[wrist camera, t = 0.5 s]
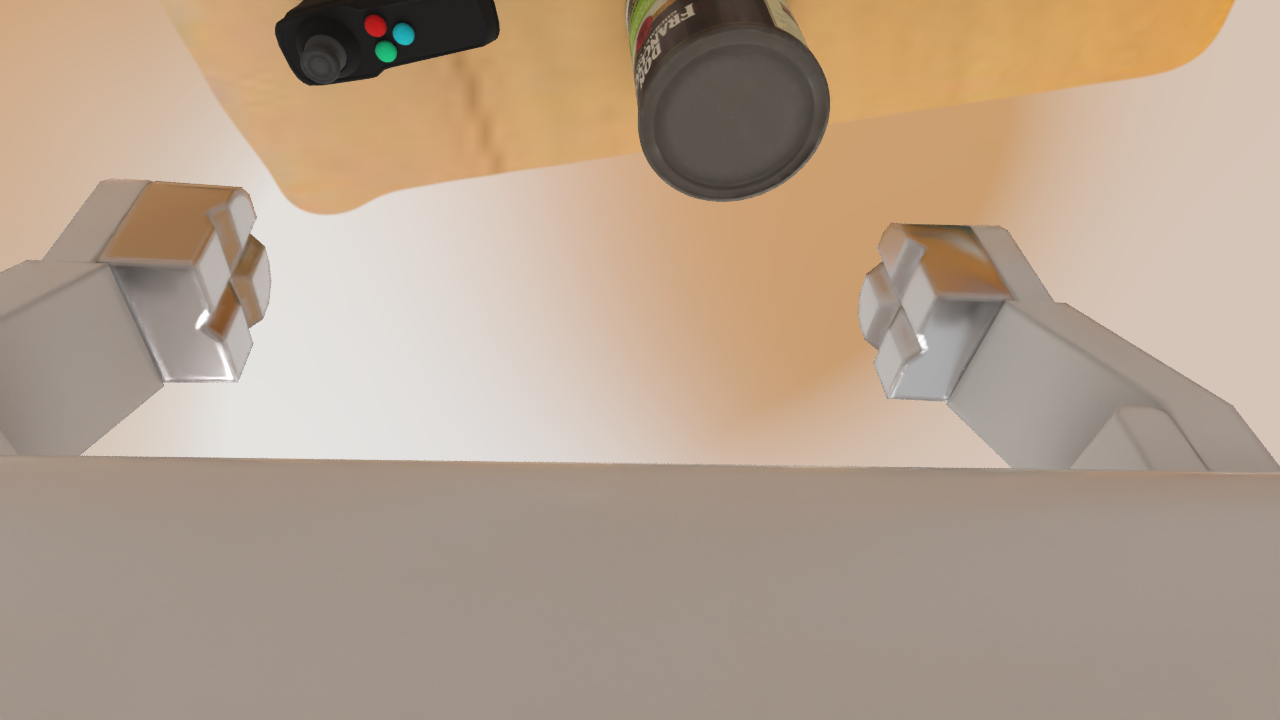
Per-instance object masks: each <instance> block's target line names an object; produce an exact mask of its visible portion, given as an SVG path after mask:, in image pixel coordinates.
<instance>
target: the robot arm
mask: <svg viewBox="0 0 1280 720" xmlns="http://www.w3.org/2000/svg"><path fill="white" fill-rule="evenodd" d="M256 218H257V216H256V213H255V210H254V207H253V204H252V201H251V198H250V195H249V194H248V193H247V192H246V191H245V190H244V189H243V188H242V187H231V186H217V185H203V184H189V183H176V182H162V181H155V182H152V181H149V180H130V179H108V180H104V181H101V182H100V183H99V184H98V185H97V186H96V188H95V189H94V191H93V192H92V193H91V195H90V196H89V197H88V199H87V200H86V201H85V203H84V204H83V205H82V207H81V208H80V210H79V211H78V212H77V213H76V215H75V216H74V218H73V219H72V220H71V222H70V223H69V224H68V226H67V227H66V228H65V230H64V231H63V233H62V234H61V235H60V236H59V238H58V239H57V240H56V242H55V243H54V245H53V246H52V247H51V249H50V250H49V251H48V253H47V254H46V255H45V257H44V258H43V259H42V261H39V260H26V261H24V262H22V263H20V264H18V265H15V266H13V267H11V268H9V269H7V270H5V271H3V272H0V720H1280V466H1279V465H1278V464H1277V462H1276V461H1275V460H1274V458H1273V457H1272V456H1271V454H1270V453H1269V452H1268V451H1267V449H1266V448H1265V447H1264V445H1263V444H1262V443H1261V441H1260V440H1259V439H1258V438H1257V436H1256V435H1255V434H1254V432H1253V431H1252V430H1251V429H1250V427H1249V426H1248V425H1247V423H1246V422H1245V421H1244V420H1243V418H1242V417H1241V416H1240V415H1239V413H1238V412H1237V410H1236V409H1235V408H1234V407H1233V405H1231V404H1229V403H1228V402H1226V401H1224V400H1223V399H1221V398H1220V397H1218V396H1216V395H1215V394H1213V393H1211V392H1210V391H1208V390H1207V389H1205V388H1203V387H1202V386H1200V385H1198V384H1197V383H1195V382H1193V381H1192V380H1190V379H1189V378H1187V377H1185V376H1184V375H1182V374H1180V373H1179V372H1177V371H1176V370H1174V369H1172V368H1171V367H1169V366H1167V365H1166V364H1164V363H1162V362H1161V361H1159V360H1158V359H1156V358H1154V357H1152V356H1151V355H1149V354H1148V353H1146V352H1145V351H1143V350H1141V349H1140V348H1138V347H1136V346H1135V345H1133V344H1132V343H1130V342H1128V341H1127V340H1125V339H1123V338H1122V337H1120V336H1118V335H1117V334H1115V333H1114V332H1112V331H1110V330H1109V329H1107V328H1106V327H1104V326H1102V325H1100V324H1099V323H1097V322H1096V321H1094V320H1092V319H1091V318H1089V317H1088V316H1086V315H1084V314H1083V313H1081V312H1079V311H1078V310H1076V309H1075V308H1073V307H1071V306H1070V305H1068V304H1066V303H1055V302H1054V301H1053V299H1052V298H1051V296H1050V294H1049V293H1048V291H1047V290H1046V288H1045V287H1044V285H1043V284H1042V282H1041V281H1040V279H1039V278H1038V276H1037V274H1036V273H1035V271H1034V270H1033V268H1032V267H1031V265H1030V264H1029V262H1028V261H1027V259H1026V258H1025V256H1024V255H1023V253H1022V252H1021V250H1020V249H1019V247H1018V246H1017V244H1016V242H1015V241H1014V239H1013V238H1012V236H1011V235H1010V233H1009V232H1008V230H1006V229H1004V228H1002V227H1001V226H997V225H996V226H995V225H992V226H991V225H963V226H959V225H933V224H907V223H904V224H903V223H891V224H890V225H889V226H888V227H887V229H886V230H885V231H884V233H883V235H882V237H881V240H880V242H879V244H878V247H877V249H878V251H879V253H880V256H881V258H882V262H881V263H880V264H879V265H877V266H876V267H875V268H873V269H872V270H871V271H870V272H868V273H867V274H866V277H865V280H864V283H863V286H862V289H861V292H860V298H859V307H858V315H859V323H860V328H861V330H862V333H863V336H864V339H865V340H866V341H867V342H868V343H870V344H871V345H872V346H873V347H875V348H876V349H878V350H879V351H878V354H877V356H876V358H875V360H874V365H875V368H876V371H877V374H878V376H879V379H880V381H881V384H882V387H883V389H884V392H885V394H886V397H887V399H906V400H927V401H946V402H947V406H948V407H949V408H950V409H952V410H953V411H954V412H955V413H956V414H957V415H958V416H959V417H960V418H961V419H962V420H963V421H964V422H965V423H966V424H967V425H968V426H969V427H970V428H971V429H972V430H973V431H975V433H976V434H977V435H978V436H979V437H981V438H982V439H983V440H984V441H985V442H986V443H987V444H988V445H989V446H990V447H991V448H992V449H993V450H994V451H995V452H996V453H997V454H998V455H999V456H1000V457H1001V458H1002V459H1003V460H1004V461H1005V462H1006V463H1007V464H1008V465H1009V466H1011V467H1012V468H929V467H928V468H926V467H925V468H923V467H922V468H921V467H862V466H861V467H860V466H797V465H790V466H789V465H729V464H657V463H576V462H574V463H573V462H496V461H495V462H494V461H418V460H416V461H415V460H414V461H413V460H345V459H344V460H343V459H340V460H339V459H336V460H335V459H272V458H271V459H270V458H200V457H197V458H195V457H128V456H127V457H126V456H80V455H81V454H82V453H83V452H84V451H85V450H87V449H88V448H89V447H91V446H92V445H93V444H94V443H95V442H97V441H98V440H99V439H100V438H101V437H103V436H104V435H105V434H106V433H108V432H109V431H110V430H111V429H112V428H113V427H115V426H116V425H117V424H118V423H120V422H121V421H122V420H123V419H124V418H126V417H127V416H128V415H129V414H131V413H132V412H133V411H134V410H135V409H137V408H138V407H139V406H140V405H142V404H143V403H144V402H145V401H146V400H148V399H149V398H150V397H151V396H152V395H153V394H155V393H156V392H157V391H158V390H160V389H161V388H162V387H163V386H164V384H163V382H238V381H239V379H240V376H241V374H242V371H243V368H244V366H245V363H246V361H247V358H248V356H249V353H250V351H251V348H252V346H253V341H252V338H251V335H250V332H249V328H250V327H252V326H253V325H255V324H256V323H258V322H259V321H261V320H262V319H263V318H264V315H265V312H266V309H267V306H268V304H269V297H270V288H271V274H270V265H269V260H268V256H267V252H266V249H265V246H264V245H262V244H261V243H260V242H259V241H258V240H257V239H256V238H255V237H253V236H252V235H251V234H250V231H251V229H252V227H253V224H254V222H255V220H256Z"/></svg>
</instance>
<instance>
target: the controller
mask: <svg viewBox="0 0 1280 720" xmlns="http://www.w3.org/2000/svg"><path fill="white" fill-rule="evenodd" d="M499 31H500V28H499V20H498V16H497V12H496V7H495V3H494V1H493V0H303V1H302V2H301V3H300V4H299V5H298V6H296V7H295V8H293V9H291V10H290V11H289V12H288V13H287V14H286V15H285V17H284V18H283V19H281V20H280V21H279V22H277V23H276V26H275V35H276V38H277V41H278V44H279V47H280V49H281V51H282V53H283V54H284V56H285V58H286V60H287V62H288V64H289V66H290V68H291V70H292V71H293V72H294V74H295V75H296V76H297V78H298V79H300V80H301V81H302V82H303V83H305V84H307V85H309V86H311V85H328V84H335V83H342V82H349V81H356V80H363V79H369V78H373V77H377V76H378V75H379V74H380V73H381V72H382V71H383V70H385V69H388V68H391V67H395V66H400V65H404V64H408V63H413V62H417V61H422V60H426V59H430V58H435V57H439V56H443V55H448V54H452V53H456V52H461V51H465V50H470V49H474V48H478V47H483V46H485V45H487V44H489V43H491V42H492V41H494V40H496V39H497V38H498V35H499Z"/></svg>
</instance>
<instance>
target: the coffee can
mask: <svg viewBox="0 0 1280 720" xmlns="http://www.w3.org/2000/svg"><path fill="white" fill-rule="evenodd" d="M626 27H627V32H628V37H629V41H630V49H631V56H632V64H633V72H634V80H635V89H636V97H637V104H638V132H639V138H640V143H641V146H642V150H643V153H644V155H645V157H646V159H647V161H648V163H649V164H650V166H651V167H652V169H653V170H654V171H655V172H656V173H657V174H658V176H659V177H660V178H661V179H662V180H663V181H665V182H666V183H667V184H668V185H670V186H671V187H673V188H674V189H676V190H678V191H680V192H682V193H684V194H686V195H688V196H691V197H694V198H698V199H702V200H707V201H716V202H728V201H739V200H744V199H748V198H752V197H755V196H758V195H761V194H764V193H766V192H768V191H770V190H772V189H774V188H776V187H778V186H779V185H781V184H783V183H784V182H786V181H787V180H788V179H790V178H791V177H792V176H794V175H795V174H796V173H797V172H798V171H799V170H800V169H801V168H802V167H803V166H804V165H805V164H806V163H807V162H808V160H809V159H810V158H811V156H812V155H813V154H814V153H815V151H816V150H817V148H818V146H819V144H820V142H821V140H822V138H823V135H824V133H825V130H826V127H827V123H828V118H829V112H830V96H829V89H828V84H827V81H826V78H825V75H824V73H823V70H822V68H821V67H820V65H819V63H818V61H817V60H816V58H815V57H814V55H813V54H812V53H811V51H810V50H809V48H808V46H807V44H806V42H805V39H804V37H803V35H802V33H801V31H800V29H799V27H798V24H797V23H796V21H795V19H794V17H793V15H792V13H791V10H790V8H789V6H788V4H787V2H786V0H627V3H626Z"/></svg>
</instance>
